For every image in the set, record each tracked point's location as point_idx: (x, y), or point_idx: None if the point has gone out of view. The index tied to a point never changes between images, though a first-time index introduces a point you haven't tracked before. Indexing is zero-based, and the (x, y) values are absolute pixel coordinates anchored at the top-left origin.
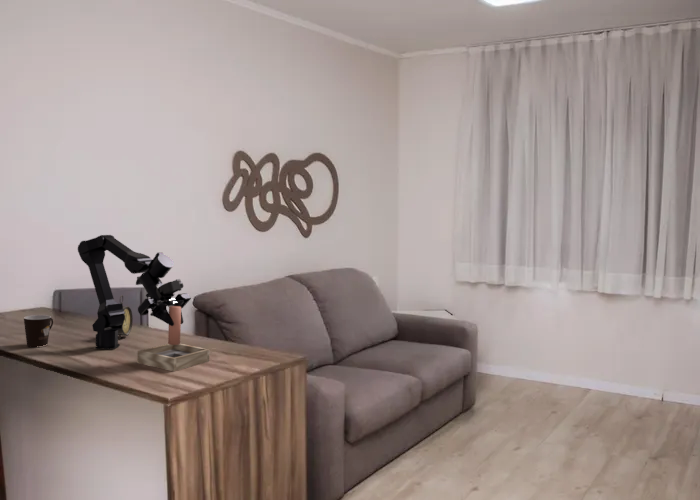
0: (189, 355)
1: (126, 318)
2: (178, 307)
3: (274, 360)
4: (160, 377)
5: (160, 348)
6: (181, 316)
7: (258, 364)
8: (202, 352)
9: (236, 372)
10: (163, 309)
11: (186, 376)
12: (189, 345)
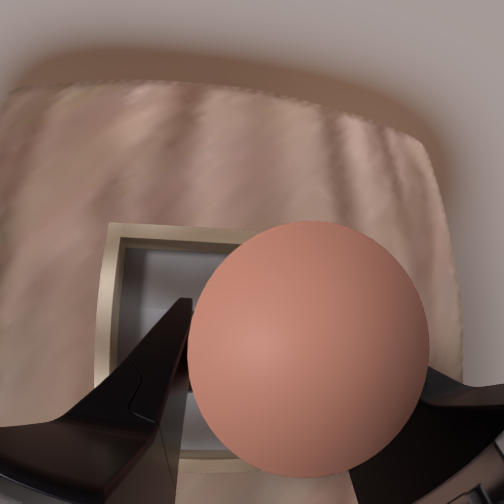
0: (245, 231)
1: None
2: (312, 261)
3: (40, 111)
4: (378, 243)
5: (211, 456)
6: (169, 328)
7: (90, 111)
8: (157, 227)
9: (197, 108)
10: (471, 388)
11: (322, 189)
12: (95, 358)
